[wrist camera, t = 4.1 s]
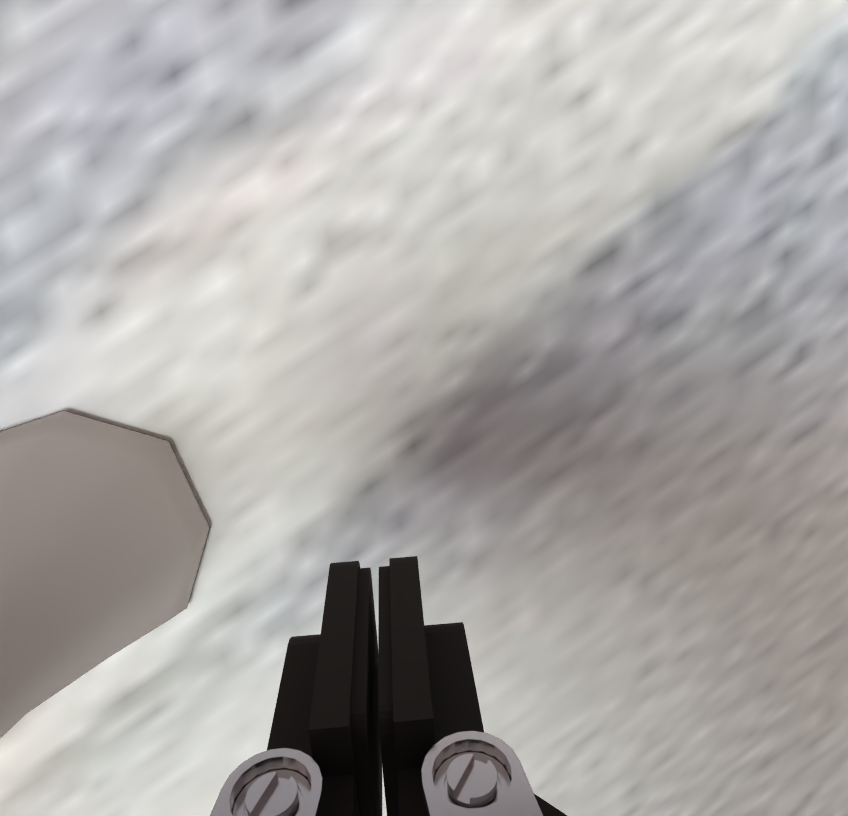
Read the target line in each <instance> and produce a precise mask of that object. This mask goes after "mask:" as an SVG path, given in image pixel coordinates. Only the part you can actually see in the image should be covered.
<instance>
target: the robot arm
mask: <svg viewBox="0 0 848 816" xmlns="http://www.w3.org/2000/svg"><path fill="white" fill-rule="evenodd" d="M382 767H383V777H384V787H385V798H386V808H387V816H567V815H565V814H564V813H562V812H561V811H559V810H558V809H556V808H555V807H553V806H552V805H550V804H549V803H547V802H546V801H544V800H543V799H541V798H540V797H538V796H537V795H535V794H534V793H533V791H532V788H531V786H530V784H529V781H528V779H527V777H526V774H525V772H524V770H523V767H522V765H521V762H520V760H519V759H518V757H517V756H516V754H515V752H514V751H513V749H512V748H511V747H510V746H508V745H507V744H506V743H505V742H504V741H502V740H501V739H499V738H497V737H495V736H493V735H490V734H488V733H484V730H483V724H482V719H481V714H480V708H479V703H478V698H477V692H476V687H475V682H474V677H473V671H472V666H471V661H470V655H469V650H468V645H467V639H466V634H465V629H464V625H463V622H462V623H450V624H438V625H426V626H424V620H423V610H422V600H421V590H420V580H419V569H418V559H417V556H414V557H402V558H390V566H385V567H379V654H378V643H377V632H376V621H375V611H374V600H373V589H372V578H371V569H370V568H360V564H359V561H352V562H339V563H331V564H330V568H329V576H328V584H327V591H326V599H325V606H324V614H323V622H322V629H321V634H320V635H308V636H296V637H291V638H290V640H289V643H288V647H287V652H286V657H285V662H284V668H283V673H282V678H281V683H280V688H279V693H278V698H277V703H276V708H275V713H274V718H273V723H272V728H271V733H270V738H269V743H268V748H267V751H265V752H262V753H259V754H256V755H254V756H253V757H251V758H249V759H248V760H246V761H245V762H243V763H241V764H240V765H239V766H238V767H237V768H236V769H235V770H234V771H233V772H232V773H231V774H230V775H229V777H228V779H227V780H226V782H225V784H224V785H223V787H222V789H221V791H220V793H219V796H218V798H217V800H216V803H215V805H214V807H213V810H212V812H211V815H210V816H382Z"/></svg>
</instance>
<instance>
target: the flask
mask: <svg viewBox="0 0 848 816" xmlns="http://www.w3.org/2000/svg"><path fill="white" fill-rule="evenodd" d="M208 531H209V526H208V524H207V522H206V519H205V517H204V515H203V513H202V511H201V509H200V507H199V505H198V503H197V501H196V498H195V496H194V494H193V492H192V490H191V488H190V486H189V484H188V482H187V480H186V477H185V475H184V473H183V471H182V469H181V467H180V465H179V463H178V461H177V459H176V456H175V454H174V452H173V450H172V448H171V446H170V444H169V442H168V441H166V440H162V439H159V438H155V437H152V436H149V435H145V434H142V433H138V432H135V431H131V430H128V429H124V428H121V427H118V426H114V425H111V424H107V423H104V422H100V421H97V420H93V419H90V418H87V417H83V416H80V415H76V414H73V413H69V412H66V411H62V412H59V413H55V414H52V415H49V416H46V417H43V418H40V419H37V420H34V421H31V422H28V423H25V424H22V425H19V426H16V427H13V428H10V429H7V430H4V431H1V432H0V738H1V737H2V736H3V735H4V734H5V733H6V732H7V731H8V730H9V729H11V728H12V727H13V726H14V725H15V724H16V723H17V722H18V721H19V720H20V719H21V718H22V717H23V716H24V715H25V714H27V713H28V712H29V711H31V710H32V709H34V708H35V707H37V706H38V705H40V704H41V703H43V702H44V701H46V700H47V699H49V698H50V697H51V696H53V695H54V694H56V693H57V692H59V691H60V690H62V689H63V688H65V687H66V686H68V685H69V684H70V683H72V682H73V681H75V680H76V679H78V678H79V677H81V676H82V675H84V674H85V673H87V672H88V671H89V670H91V669H92V668H94V667H95V666H97V665H98V664H100V663H101V662H103V661H104V660H106V659H107V658H108V657H110V656H112V655H113V654H115V653H116V652H118V651H120V650H121V649H123V648H124V647H126V646H128V645H129V644H131V643H133V642H134V641H136V640H137V639H139V638H141V637H142V636H144V635H146V634H147V633H149V632H150V631H152V630H154V629H155V628H157V627H158V626H160V625H162V624H163V623H165V622H167V621H168V620H170V619H171V618H173V617H174V616H176V615H177V614H178V613H180V612H181V611H183V610H184V609H186V608H187V606H188V602H189V599H190V595H191V591H192V588H193V584H194V581H195V577H196V574H197V570H198V566H199V563H200V559H201V556H202V552H203V549H204V545H205V542H206V538H207V534H208Z"/></svg>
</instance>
